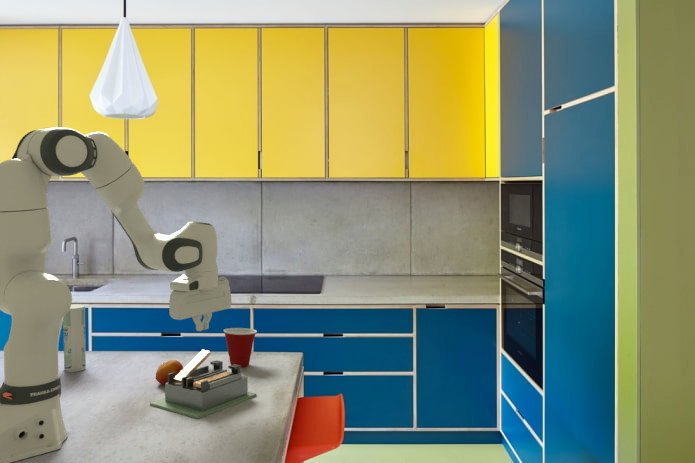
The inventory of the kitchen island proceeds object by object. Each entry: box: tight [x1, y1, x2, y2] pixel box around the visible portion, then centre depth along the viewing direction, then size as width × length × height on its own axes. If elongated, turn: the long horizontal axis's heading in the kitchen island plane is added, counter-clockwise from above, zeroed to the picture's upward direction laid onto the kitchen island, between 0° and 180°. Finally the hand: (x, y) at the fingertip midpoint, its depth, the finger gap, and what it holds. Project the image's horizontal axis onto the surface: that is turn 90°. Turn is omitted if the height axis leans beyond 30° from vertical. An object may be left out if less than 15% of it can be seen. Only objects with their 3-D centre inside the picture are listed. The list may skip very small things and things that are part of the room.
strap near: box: [193, 371, 233, 388], centre depth 173 cm, size 12×3×1 cm, turn 147°
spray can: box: [62, 304, 87, 373], centre depth 204 cm, size 6×6×20 cm
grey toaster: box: [164, 359, 249, 412], centre depth 176 cm, size 17×14×8 cm
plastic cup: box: [223, 327, 258, 369], centre depth 210 cm, size 11×11×12 cm
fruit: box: [155, 359, 184, 387], centre depth 190 cm, size 8×8×8 cm
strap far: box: [174, 349, 212, 383], centre depth 176 cm, size 12×3×1 cm
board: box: [149, 391, 257, 420], centre depth 176 cm, size 22×18×1 cm
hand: (202, 329), depth 178 cm, fingers closed
